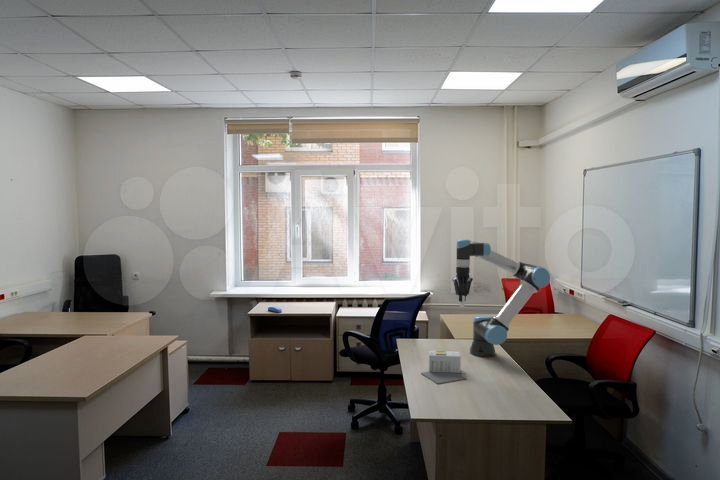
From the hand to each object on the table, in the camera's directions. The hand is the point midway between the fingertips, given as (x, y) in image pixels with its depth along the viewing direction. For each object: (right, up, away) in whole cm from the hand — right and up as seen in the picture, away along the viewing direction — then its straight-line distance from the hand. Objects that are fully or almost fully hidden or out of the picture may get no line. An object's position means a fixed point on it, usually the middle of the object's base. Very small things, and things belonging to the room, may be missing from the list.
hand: (462, 306), depth 271 cm
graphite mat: (-15, -34, -22) cm, 43 cm away
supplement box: (-4, -28, -14) cm, 32 cm away
